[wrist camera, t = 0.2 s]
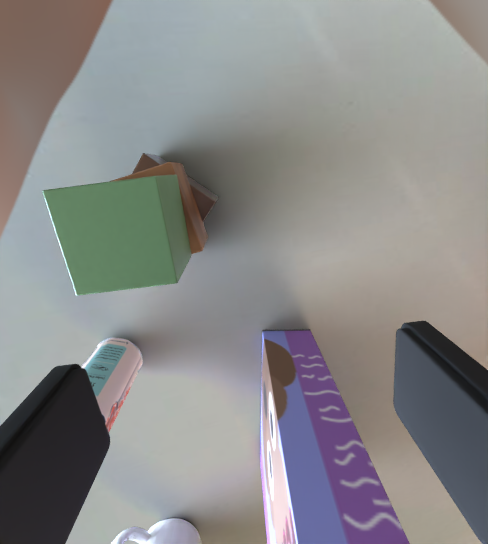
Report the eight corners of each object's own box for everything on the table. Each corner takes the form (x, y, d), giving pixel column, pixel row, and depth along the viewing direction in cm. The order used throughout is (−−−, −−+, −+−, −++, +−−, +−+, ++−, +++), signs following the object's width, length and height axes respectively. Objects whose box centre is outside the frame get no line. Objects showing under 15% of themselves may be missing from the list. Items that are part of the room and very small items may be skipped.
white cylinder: (112, 381, 32) (43, 499, 20) (87, 345, 30) (-3, 451, 19) (152, 364, 31) (105, 476, 20) (128, 327, 30) (62, 425, 18)
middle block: (108, 186, 22) (81, 190, 18) (182, 162, 21) (170, 161, 17) (139, 258, 23) (121, 275, 20) (208, 237, 23) (202, 250, 19)
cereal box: (262, 330, 30) (343, 816, 7) (309, 329, 30) (531, 807, 8) (260, 460, 36) (302, 965, 13) (300, 459, 36) (411, 958, 13)
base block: (157, 155, 25) (143, 152, 21) (219, 197, 26) (216, 201, 22) (123, 216, 26) (104, 224, 22) (183, 253, 27) (175, 266, 24)
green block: (93, 184, 18) (41, 190, 13) (177, 174, 18) (155, 175, 13) (114, 265, 19) (75, 296, 15) (192, 255, 19) (177, 283, 15)
